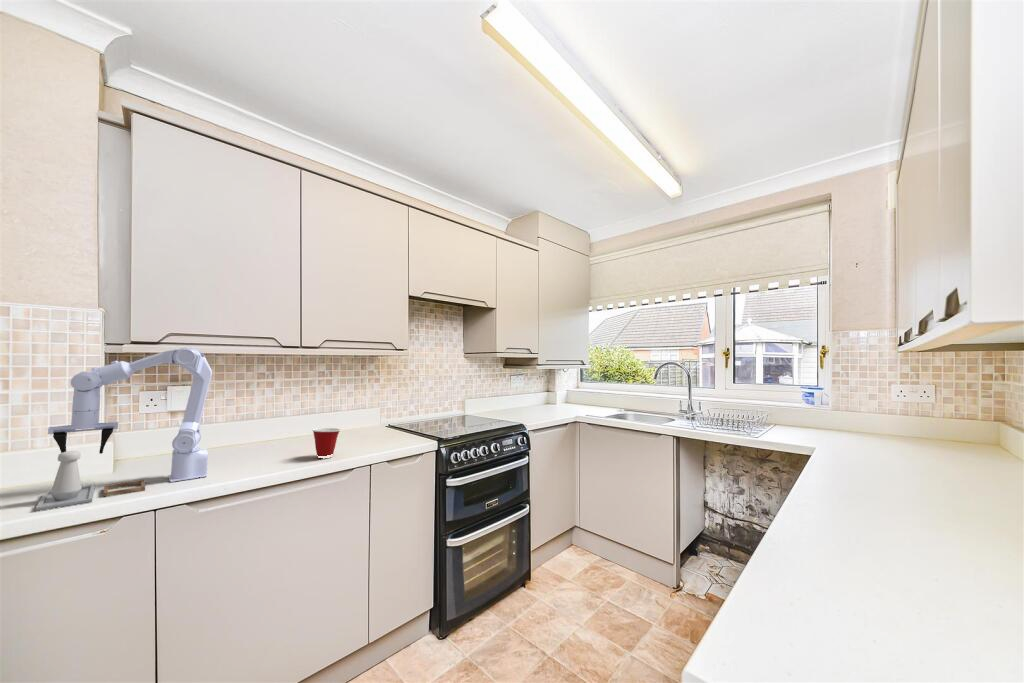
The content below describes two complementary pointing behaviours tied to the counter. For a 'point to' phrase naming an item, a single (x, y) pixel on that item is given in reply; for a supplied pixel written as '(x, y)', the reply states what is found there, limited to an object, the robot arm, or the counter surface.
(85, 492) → the grey tray
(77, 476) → the salt shaker
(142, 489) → the walnut collar
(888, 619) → the counter surface
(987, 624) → the counter surface
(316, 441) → the plastic cup
